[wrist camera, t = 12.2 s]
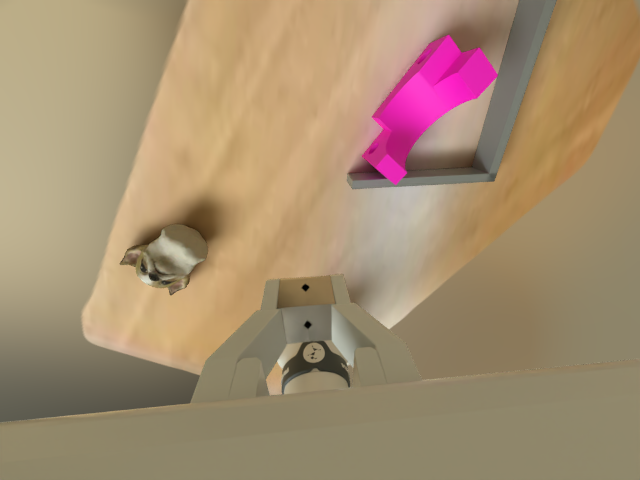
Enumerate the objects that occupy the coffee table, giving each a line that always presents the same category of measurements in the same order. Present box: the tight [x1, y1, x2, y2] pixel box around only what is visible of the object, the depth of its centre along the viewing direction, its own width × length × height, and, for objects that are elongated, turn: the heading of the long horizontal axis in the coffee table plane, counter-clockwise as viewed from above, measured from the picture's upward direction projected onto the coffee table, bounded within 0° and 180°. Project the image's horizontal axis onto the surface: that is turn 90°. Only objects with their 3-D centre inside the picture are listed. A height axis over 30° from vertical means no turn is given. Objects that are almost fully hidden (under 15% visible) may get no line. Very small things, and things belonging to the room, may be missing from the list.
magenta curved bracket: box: [362, 35, 498, 185], centre depth 30 cm, size 15×6×8 cm, turn 141°
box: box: [347, 0, 557, 189], centre depth 29 cm, size 26×21×4 cm
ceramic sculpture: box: [120, 224, 208, 295], centre depth 37 cm, size 11×9×15 cm
